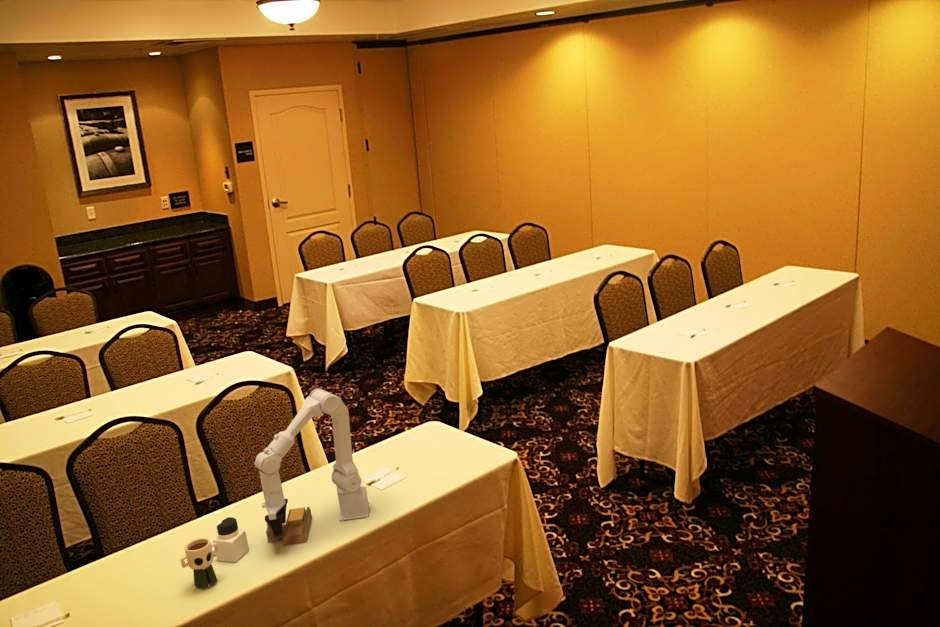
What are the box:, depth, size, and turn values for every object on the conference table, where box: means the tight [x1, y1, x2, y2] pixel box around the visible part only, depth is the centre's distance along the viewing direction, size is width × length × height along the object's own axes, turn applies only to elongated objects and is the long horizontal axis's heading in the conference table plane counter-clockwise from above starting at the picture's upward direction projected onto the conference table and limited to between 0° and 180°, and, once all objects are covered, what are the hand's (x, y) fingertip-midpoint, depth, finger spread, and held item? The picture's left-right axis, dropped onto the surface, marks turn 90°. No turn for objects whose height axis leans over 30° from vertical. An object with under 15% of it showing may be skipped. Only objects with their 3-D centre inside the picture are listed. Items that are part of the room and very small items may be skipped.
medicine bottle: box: [212, 516, 250, 563], centre depth 238 cm, size 7×7×12 cm
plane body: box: [265, 506, 313, 547], centre depth 249 cm, size 12×16×4 cm
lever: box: [266, 522, 276, 543], centre depth 240 cm, size 11×1×3 cm, turn 20°
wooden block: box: [288, 506, 307, 527], centre depth 250 cm, size 4×8×2 cm, turn 5°
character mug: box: [180, 537, 218, 590], centre depth 224 cm, size 11×7×13 cm, turn 131°
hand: (280, 529), depth 241 cm, fingers open, 7 cm apart
